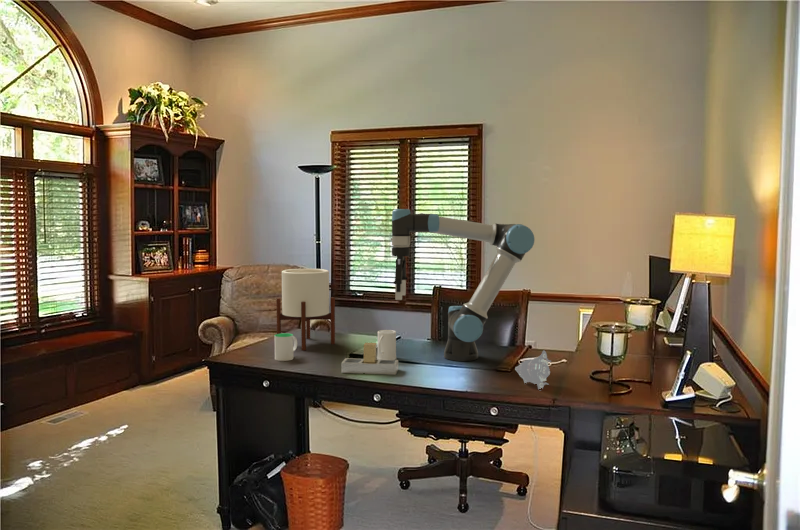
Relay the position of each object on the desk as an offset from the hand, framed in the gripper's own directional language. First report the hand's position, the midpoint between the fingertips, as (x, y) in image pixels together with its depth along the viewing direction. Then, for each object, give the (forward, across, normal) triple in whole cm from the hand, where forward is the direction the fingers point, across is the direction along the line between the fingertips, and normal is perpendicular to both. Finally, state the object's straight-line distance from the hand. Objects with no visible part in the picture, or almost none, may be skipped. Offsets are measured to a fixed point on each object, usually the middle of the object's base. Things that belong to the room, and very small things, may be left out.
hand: (400, 297), depth 261 cm
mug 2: (+29, -10, -8) cm, 32 cm away
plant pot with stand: (+29, -35, -50) cm, 68 cm away
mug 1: (+29, -7, -51) cm, 59 cm away
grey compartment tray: (+29, +11, -11) cm, 33 cm away
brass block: (+28, +11, -11) cm, 32 cm away
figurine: (+29, +24, +52) cm, 64 cm away
